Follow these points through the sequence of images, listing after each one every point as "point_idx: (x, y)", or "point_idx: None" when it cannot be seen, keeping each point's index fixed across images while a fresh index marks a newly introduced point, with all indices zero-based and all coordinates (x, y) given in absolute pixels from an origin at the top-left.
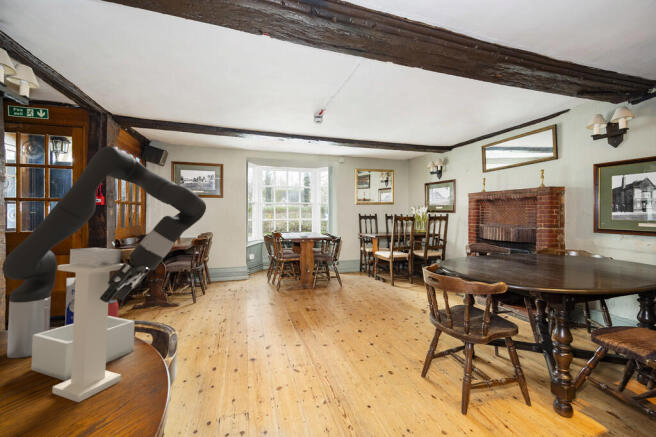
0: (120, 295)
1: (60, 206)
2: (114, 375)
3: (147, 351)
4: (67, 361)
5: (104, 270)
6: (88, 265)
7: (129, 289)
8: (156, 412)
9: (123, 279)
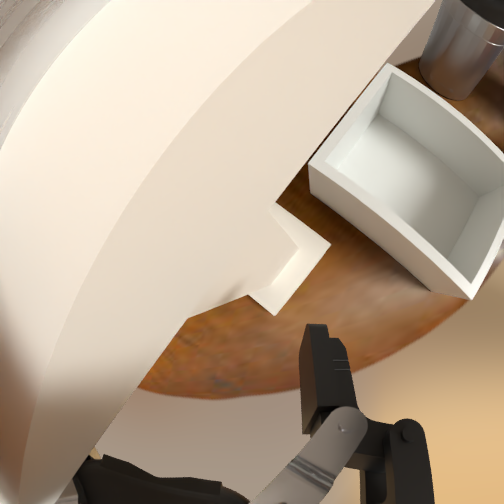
0: (304, 358)
1: None
2: (276, 302)
3: (418, 328)
4: (312, 183)
5: None
6: None
7: (304, 425)
8: (156, 387)
9: None
